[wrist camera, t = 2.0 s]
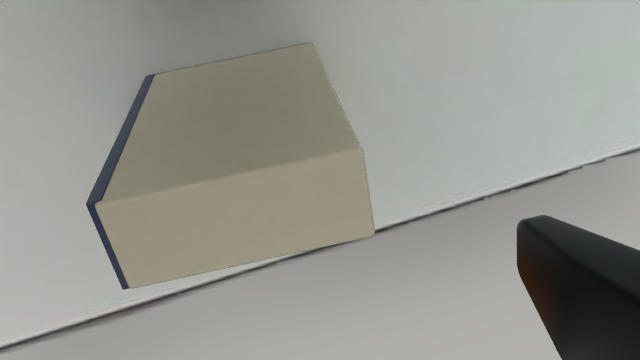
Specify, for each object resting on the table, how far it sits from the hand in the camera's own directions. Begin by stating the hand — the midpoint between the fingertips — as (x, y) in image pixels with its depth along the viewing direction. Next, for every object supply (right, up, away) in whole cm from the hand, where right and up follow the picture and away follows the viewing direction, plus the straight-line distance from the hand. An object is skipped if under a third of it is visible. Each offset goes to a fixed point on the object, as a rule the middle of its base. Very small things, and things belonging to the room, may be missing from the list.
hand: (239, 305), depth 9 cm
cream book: (-1, +5, +9) cm, 10 cm away
